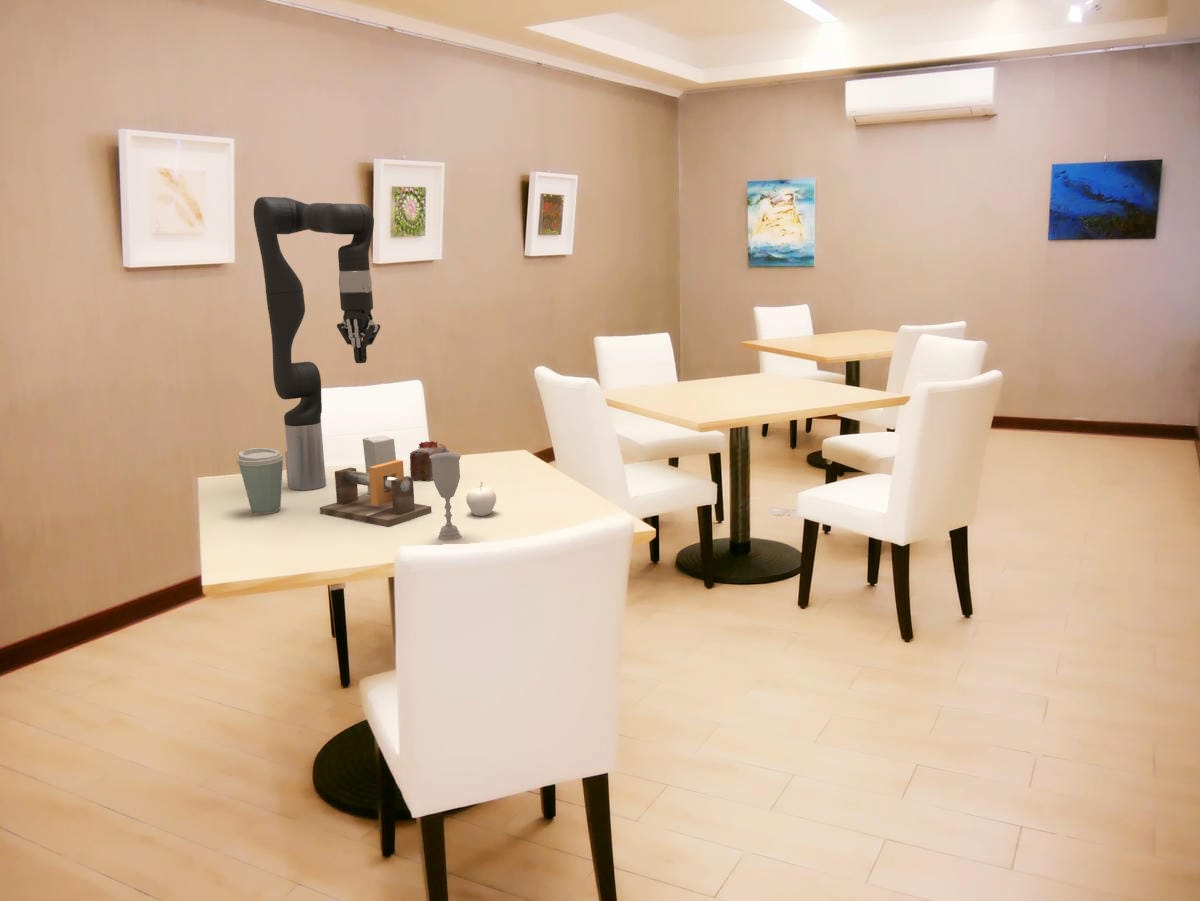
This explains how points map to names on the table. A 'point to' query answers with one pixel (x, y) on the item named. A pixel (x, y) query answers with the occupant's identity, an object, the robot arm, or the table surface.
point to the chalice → (446, 487)
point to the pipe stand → (363, 511)
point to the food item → (424, 460)
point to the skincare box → (378, 451)
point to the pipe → (363, 479)
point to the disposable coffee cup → (262, 478)
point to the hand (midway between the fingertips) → (360, 362)
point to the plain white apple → (481, 500)
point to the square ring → (377, 480)
